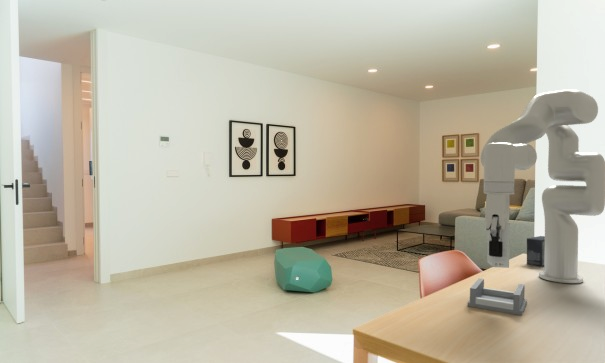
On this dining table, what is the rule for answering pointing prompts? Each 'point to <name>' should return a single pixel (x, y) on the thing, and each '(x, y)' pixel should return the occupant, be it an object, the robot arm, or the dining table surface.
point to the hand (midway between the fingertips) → (497, 253)
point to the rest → (497, 298)
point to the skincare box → (504, 259)
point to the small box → (536, 251)
